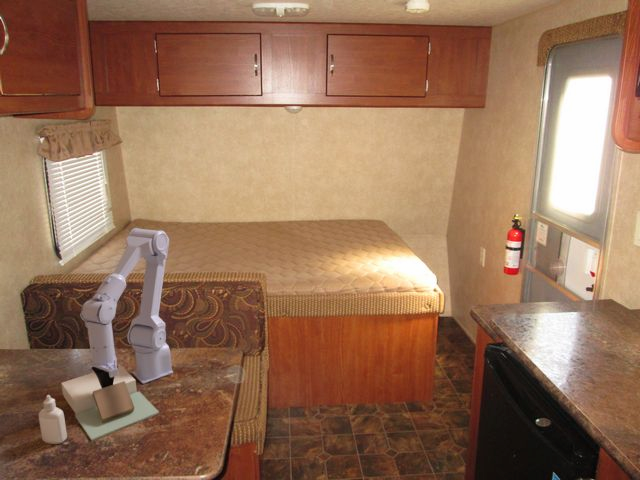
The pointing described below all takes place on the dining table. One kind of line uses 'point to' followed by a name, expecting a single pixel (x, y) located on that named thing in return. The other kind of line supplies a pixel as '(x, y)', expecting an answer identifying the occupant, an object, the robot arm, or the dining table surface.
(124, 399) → the walnut tile
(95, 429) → the mat
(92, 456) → the dining table surface
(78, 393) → the cream flat block
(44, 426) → the eye dropper bottle
